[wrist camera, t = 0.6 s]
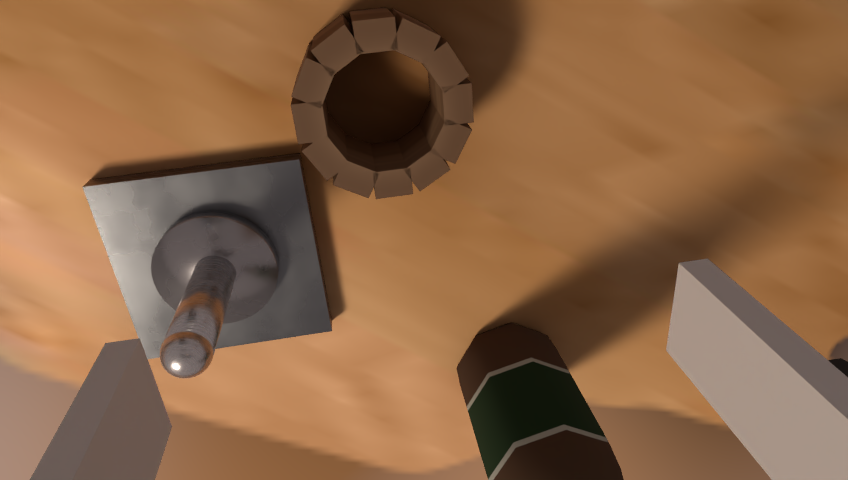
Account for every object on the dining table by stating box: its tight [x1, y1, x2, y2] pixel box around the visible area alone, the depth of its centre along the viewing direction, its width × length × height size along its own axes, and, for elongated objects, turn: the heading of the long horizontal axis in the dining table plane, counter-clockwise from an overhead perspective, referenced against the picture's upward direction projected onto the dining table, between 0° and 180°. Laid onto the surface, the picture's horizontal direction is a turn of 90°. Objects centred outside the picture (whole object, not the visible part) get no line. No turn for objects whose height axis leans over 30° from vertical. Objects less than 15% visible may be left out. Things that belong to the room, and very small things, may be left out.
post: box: [83, 153, 332, 378], centre depth 32 cm, size 12×12×11 cm
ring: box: [291, 7, 474, 199], centre depth 32 cm, size 9×9×5 cm
